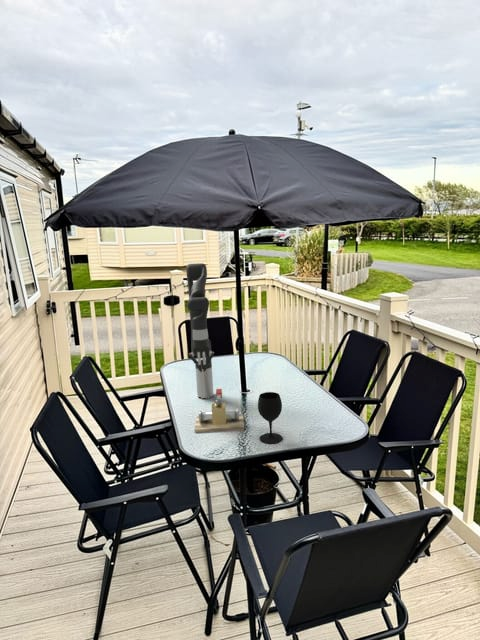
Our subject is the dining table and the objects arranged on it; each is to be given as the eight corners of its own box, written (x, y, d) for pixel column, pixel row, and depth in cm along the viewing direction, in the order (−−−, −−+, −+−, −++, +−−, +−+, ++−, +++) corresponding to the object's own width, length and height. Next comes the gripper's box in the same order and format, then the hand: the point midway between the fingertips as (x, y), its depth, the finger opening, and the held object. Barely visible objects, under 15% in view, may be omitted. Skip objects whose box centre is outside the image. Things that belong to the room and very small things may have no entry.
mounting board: (196, 419, 212) (196, 416, 212) (243, 416, 212) (242, 414, 212) (194, 432, 197) (194, 429, 197) (244, 429, 198) (244, 426, 197)
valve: (200, 419, 208) (199, 404, 206) (239, 417, 208) (238, 402, 207) (199, 425, 201) (198, 409, 200) (239, 423, 202) (238, 407, 200)
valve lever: (221, 406, 202) (221, 400, 201) (215, 406, 202) (214, 401, 201) (222, 393, 218) (222, 388, 218) (216, 393, 218) (215, 389, 218)
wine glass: (255, 436, 191) (253, 393, 187) (276, 431, 194) (275, 389, 191) (265, 446, 181) (263, 401, 177) (287, 441, 185) (285, 397, 181)
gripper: (214, 335, 214) (216, 368, 217) (187, 336, 214) (189, 370, 217) (213, 338, 206) (216, 373, 209) (186, 340, 206) (188, 374, 209)
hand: (202, 371), depth 213 cm, fingers closed
